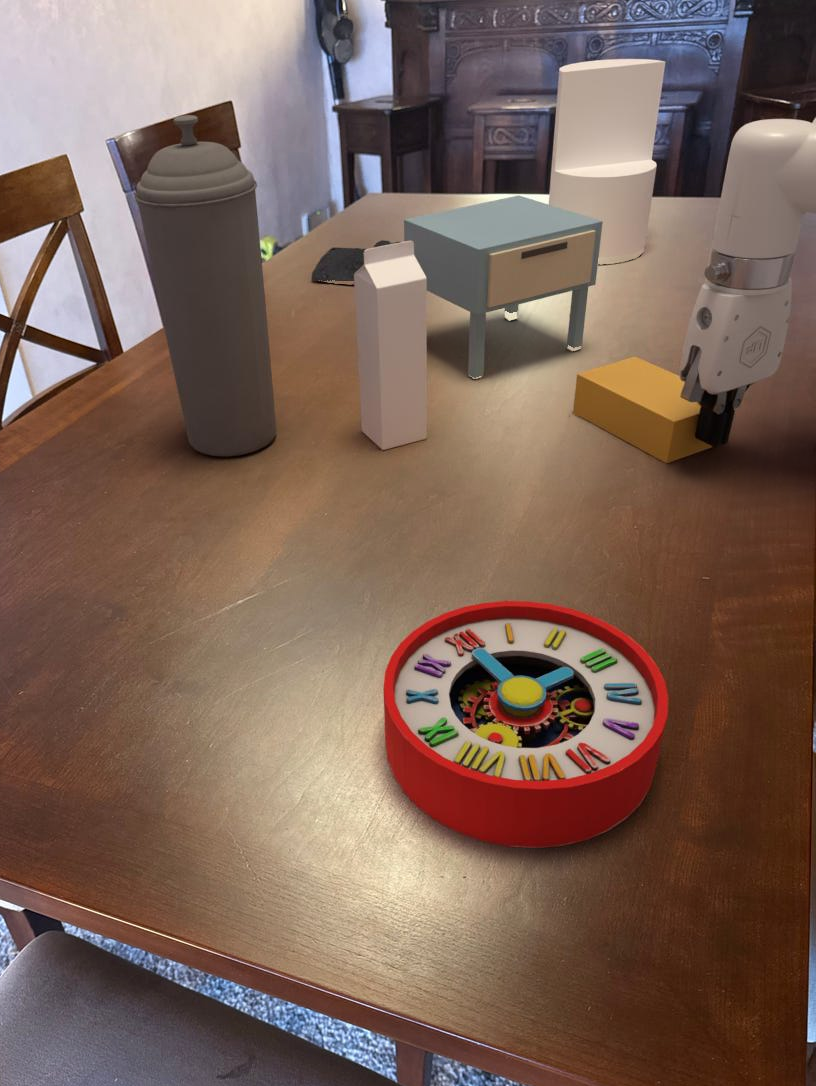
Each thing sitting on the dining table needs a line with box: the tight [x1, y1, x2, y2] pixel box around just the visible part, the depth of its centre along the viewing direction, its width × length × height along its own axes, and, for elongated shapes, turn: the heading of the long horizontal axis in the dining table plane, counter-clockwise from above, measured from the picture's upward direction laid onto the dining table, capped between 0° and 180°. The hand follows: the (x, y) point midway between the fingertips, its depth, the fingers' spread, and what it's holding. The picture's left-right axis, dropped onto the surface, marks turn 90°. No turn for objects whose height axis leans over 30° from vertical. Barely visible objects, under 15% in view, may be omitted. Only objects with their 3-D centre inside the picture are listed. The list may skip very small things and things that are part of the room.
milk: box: [354, 241, 428, 451], centre depth 102 cm, size 6×6×22 cm
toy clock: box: [383, 600, 669, 849], centre depth 66 cm, size 20×6×20 cm
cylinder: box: [548, 58, 666, 257], centre depth 151 cm, size 17×17×28 cm
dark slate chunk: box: [311, 239, 402, 281], centre depth 157 cm, size 15×22×5 cm
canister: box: [134, 114, 277, 458], centre depth 100 cm, size 13×13×35 cm
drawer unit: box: [403, 195, 603, 378], centre depth 123 cm, size 19×19×17 cm
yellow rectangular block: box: [572, 356, 735, 464], centre depth 105 cm, size 16×9×5 cm, turn 28°
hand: (710, 440), depth 98 cm, fingers closed
